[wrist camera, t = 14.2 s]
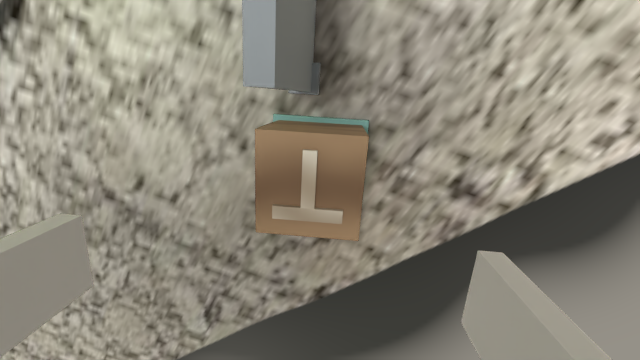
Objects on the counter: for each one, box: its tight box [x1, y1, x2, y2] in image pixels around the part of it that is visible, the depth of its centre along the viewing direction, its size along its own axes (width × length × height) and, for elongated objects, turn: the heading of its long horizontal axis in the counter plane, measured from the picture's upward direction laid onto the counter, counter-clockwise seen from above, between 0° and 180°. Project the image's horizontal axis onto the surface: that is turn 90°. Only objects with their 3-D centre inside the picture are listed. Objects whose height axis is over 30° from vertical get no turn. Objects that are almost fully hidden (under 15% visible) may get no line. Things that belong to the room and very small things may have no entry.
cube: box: [255, 120, 369, 241], centre depth 22 cm, size 7×7×7 cm
